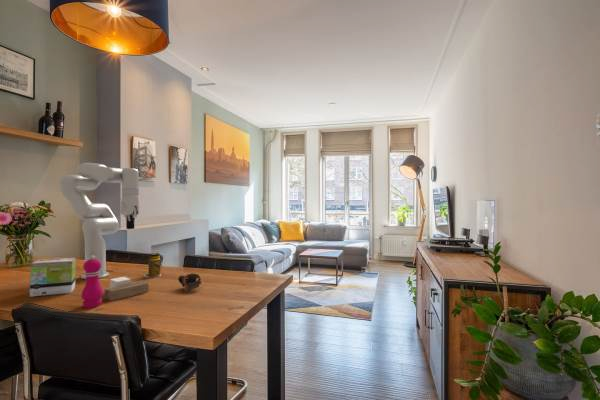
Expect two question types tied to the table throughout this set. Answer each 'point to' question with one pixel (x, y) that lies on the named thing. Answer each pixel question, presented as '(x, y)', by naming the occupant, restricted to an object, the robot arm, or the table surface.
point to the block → (119, 281)
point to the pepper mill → (92, 284)
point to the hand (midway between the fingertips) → (130, 228)
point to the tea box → (52, 276)
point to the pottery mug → (190, 281)
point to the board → (125, 290)
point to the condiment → (154, 265)
